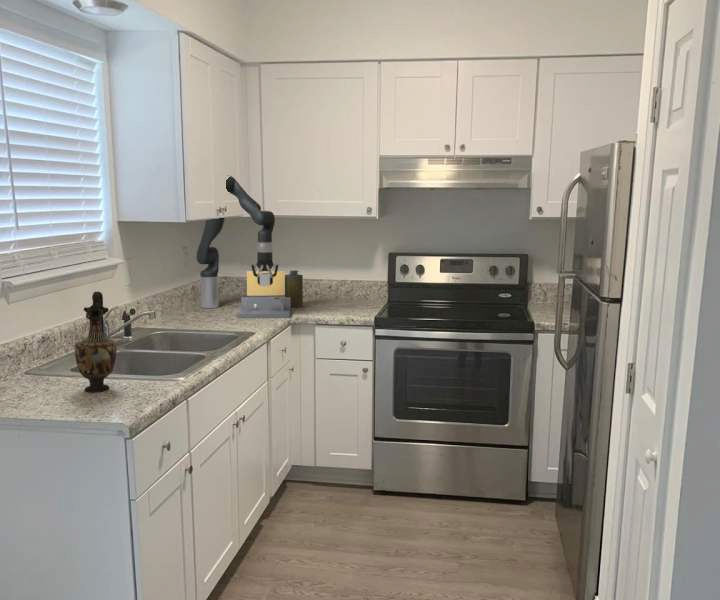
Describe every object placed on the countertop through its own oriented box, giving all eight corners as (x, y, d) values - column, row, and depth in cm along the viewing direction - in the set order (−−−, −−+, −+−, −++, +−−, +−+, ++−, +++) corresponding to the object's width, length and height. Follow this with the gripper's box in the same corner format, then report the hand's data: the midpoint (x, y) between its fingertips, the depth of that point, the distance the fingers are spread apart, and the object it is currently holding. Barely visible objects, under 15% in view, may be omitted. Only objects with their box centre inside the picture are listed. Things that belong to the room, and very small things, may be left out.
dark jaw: (272, 308, 322) (272, 297, 321) (281, 308, 322) (281, 297, 321) (271, 310, 317) (271, 299, 316) (281, 310, 317) (281, 299, 316)
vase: (71, 395, 182) (64, 296, 177) (86, 383, 194) (80, 290, 189) (111, 394, 183) (106, 296, 178) (124, 382, 195) (119, 290, 190)
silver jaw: (260, 284, 310) (260, 273, 309) (270, 284, 310) (270, 273, 309) (259, 286, 305) (259, 274, 304) (269, 286, 305) (269, 274, 304)
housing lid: (247, 296, 323) (247, 296, 324) (284, 296, 325) (284, 296, 326) (246, 269, 323) (247, 269, 324) (284, 269, 325) (284, 269, 326)
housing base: (241, 311, 325) (241, 295, 324) (290, 311, 327) (290, 295, 326) (237, 318, 306) (236, 301, 304) (289, 317, 308) (288, 301, 306)
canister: (297, 303, 351) (297, 269, 348) (306, 306, 343) (306, 271, 340) (280, 305, 346) (280, 270, 342) (289, 308, 337) (288, 272, 334)
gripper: (279, 250, 309) (279, 283, 311) (251, 250, 308) (251, 283, 310) (278, 251, 301) (279, 285, 304) (249, 251, 300) (250, 285, 303)
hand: (265, 284), depth 307 cm, fingers closed on silver jaw, 5 cm apart
